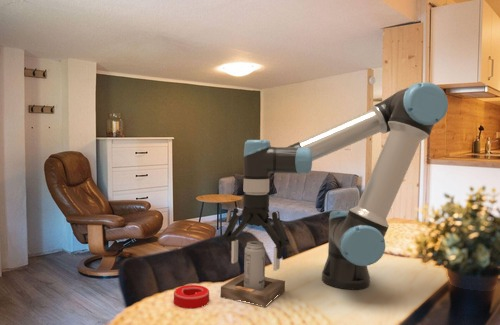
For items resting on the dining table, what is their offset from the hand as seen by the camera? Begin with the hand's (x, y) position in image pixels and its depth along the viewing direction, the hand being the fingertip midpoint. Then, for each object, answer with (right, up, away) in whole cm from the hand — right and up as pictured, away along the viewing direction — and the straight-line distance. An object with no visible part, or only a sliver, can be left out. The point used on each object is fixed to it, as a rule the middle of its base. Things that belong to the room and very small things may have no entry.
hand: (255, 265), depth 111 cm
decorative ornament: (-18, -9, -6) cm, 20 cm away
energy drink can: (0, -9, 0) cm, 9 cm away
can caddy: (0, -8, 0) cm, 8 cm away
